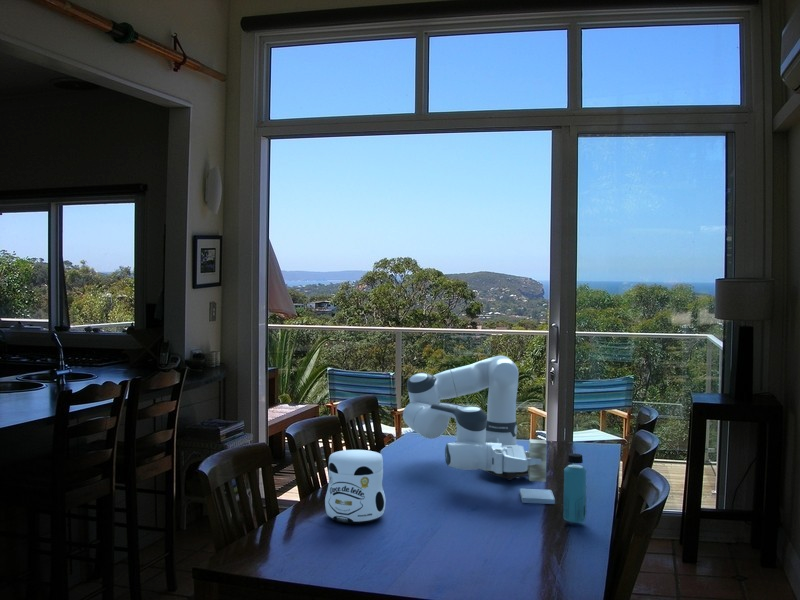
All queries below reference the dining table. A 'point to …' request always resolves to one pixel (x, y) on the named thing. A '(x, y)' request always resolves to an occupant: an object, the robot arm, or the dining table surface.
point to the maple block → (537, 451)
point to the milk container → (355, 486)
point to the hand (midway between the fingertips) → (540, 458)
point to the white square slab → (537, 496)
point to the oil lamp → (510, 474)
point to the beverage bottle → (575, 490)
